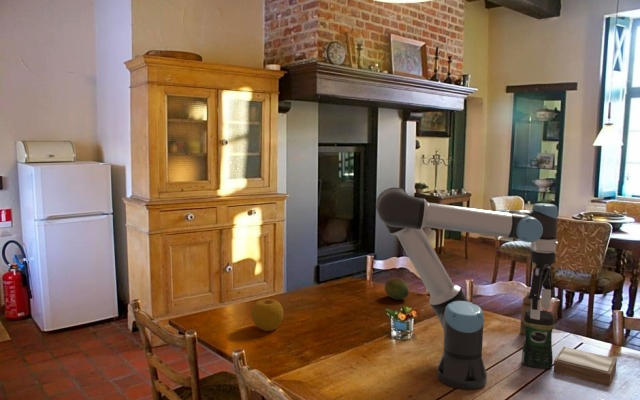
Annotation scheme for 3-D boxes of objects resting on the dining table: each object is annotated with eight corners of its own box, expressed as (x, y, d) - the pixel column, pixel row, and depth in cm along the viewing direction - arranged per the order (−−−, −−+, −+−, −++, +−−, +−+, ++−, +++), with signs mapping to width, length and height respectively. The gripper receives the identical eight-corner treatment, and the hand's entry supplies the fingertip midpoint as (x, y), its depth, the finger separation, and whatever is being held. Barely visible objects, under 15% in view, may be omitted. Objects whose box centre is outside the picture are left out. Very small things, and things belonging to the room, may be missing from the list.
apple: (246, 332, 197) (246, 304, 196) (258, 321, 210) (258, 294, 209) (277, 335, 194) (277, 307, 193) (287, 324, 207) (287, 297, 206)
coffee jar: (551, 361, 173) (555, 309, 171) (552, 371, 165) (556, 316, 163) (521, 357, 176) (524, 305, 174) (520, 366, 169) (523, 312, 167)
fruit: (395, 293, 250) (396, 273, 249) (415, 299, 241) (416, 279, 240) (379, 297, 243) (379, 277, 242) (399, 304, 233) (399, 283, 232)
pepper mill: (532, 337, 194) (534, 295, 192) (518, 334, 197) (520, 292, 195) (536, 333, 198) (538, 292, 196) (522, 330, 201) (524, 289, 199)
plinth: (609, 386, 155) (610, 373, 155) (553, 372, 165) (554, 359, 164) (615, 370, 166) (616, 357, 166) (563, 357, 176) (563, 345, 176)
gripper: (545, 259, 154) (542, 326, 157) (564, 245, 174) (561, 305, 177) (520, 255, 159) (517, 321, 161) (541, 243, 179) (538, 301, 181)
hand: (540, 313), depth 169 cm, fingers open, 13 cm apart
